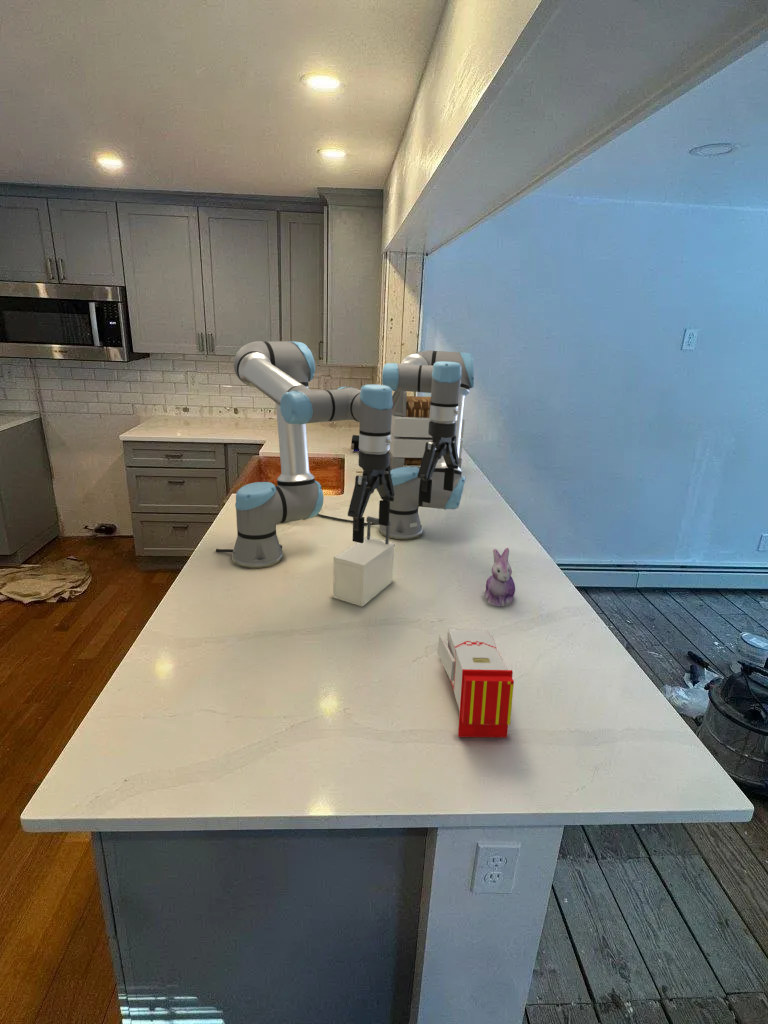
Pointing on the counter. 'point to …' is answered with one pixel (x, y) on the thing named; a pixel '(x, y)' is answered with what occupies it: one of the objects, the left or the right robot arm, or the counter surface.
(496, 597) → the figurine
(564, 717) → the counter surface
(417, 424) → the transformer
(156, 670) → the counter surface
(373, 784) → the counter surface
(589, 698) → the counter surface
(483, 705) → the toy
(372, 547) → the lid
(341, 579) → the chest
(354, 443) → the figurine character
